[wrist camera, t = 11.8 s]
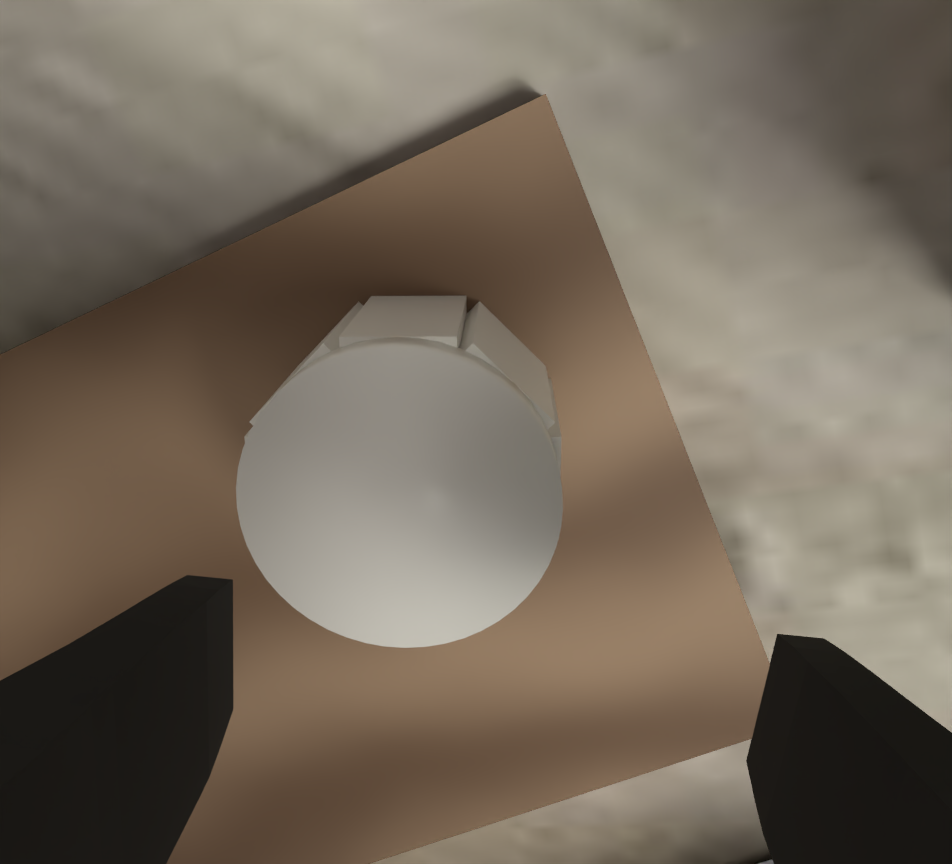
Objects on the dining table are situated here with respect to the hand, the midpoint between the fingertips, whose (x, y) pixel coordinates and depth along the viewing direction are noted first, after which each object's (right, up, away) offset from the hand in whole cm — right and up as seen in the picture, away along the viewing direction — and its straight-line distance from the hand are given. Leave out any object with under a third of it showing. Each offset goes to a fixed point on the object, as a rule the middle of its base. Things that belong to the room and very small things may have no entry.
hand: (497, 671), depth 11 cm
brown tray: (-4, 0, +10) cm, 11 cm away
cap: (-1, +3, +8) cm, 8 cm away
